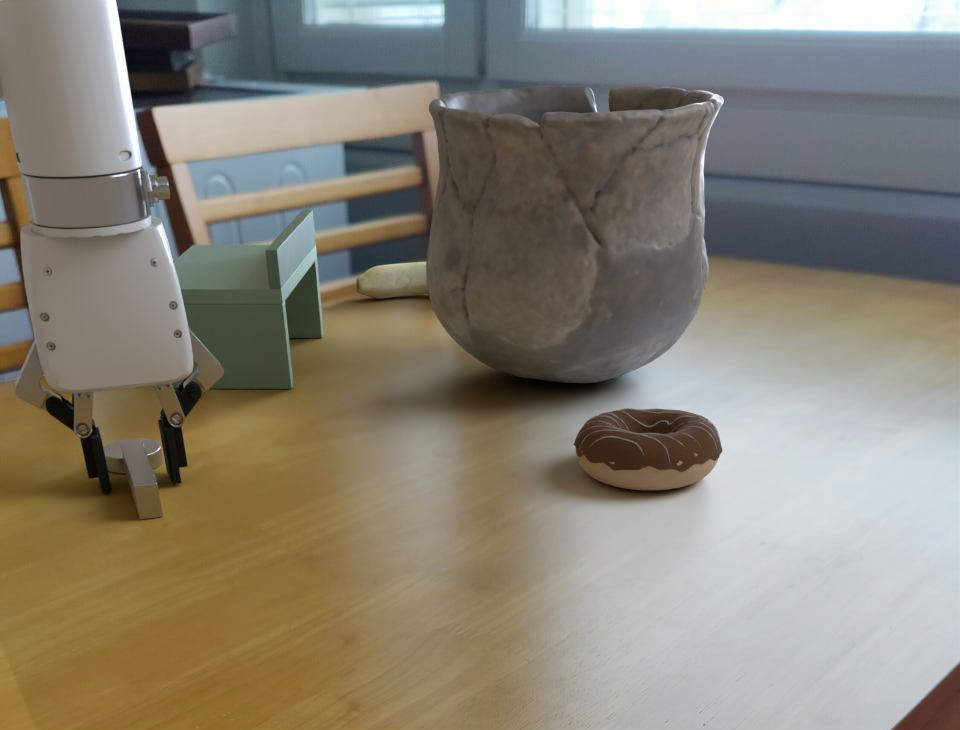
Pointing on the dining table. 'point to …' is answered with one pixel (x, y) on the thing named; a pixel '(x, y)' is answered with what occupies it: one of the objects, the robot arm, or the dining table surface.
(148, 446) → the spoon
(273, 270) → the green toy chair
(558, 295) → the pot
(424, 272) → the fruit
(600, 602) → the dining table surface
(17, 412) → the dining table surface
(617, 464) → the donut
